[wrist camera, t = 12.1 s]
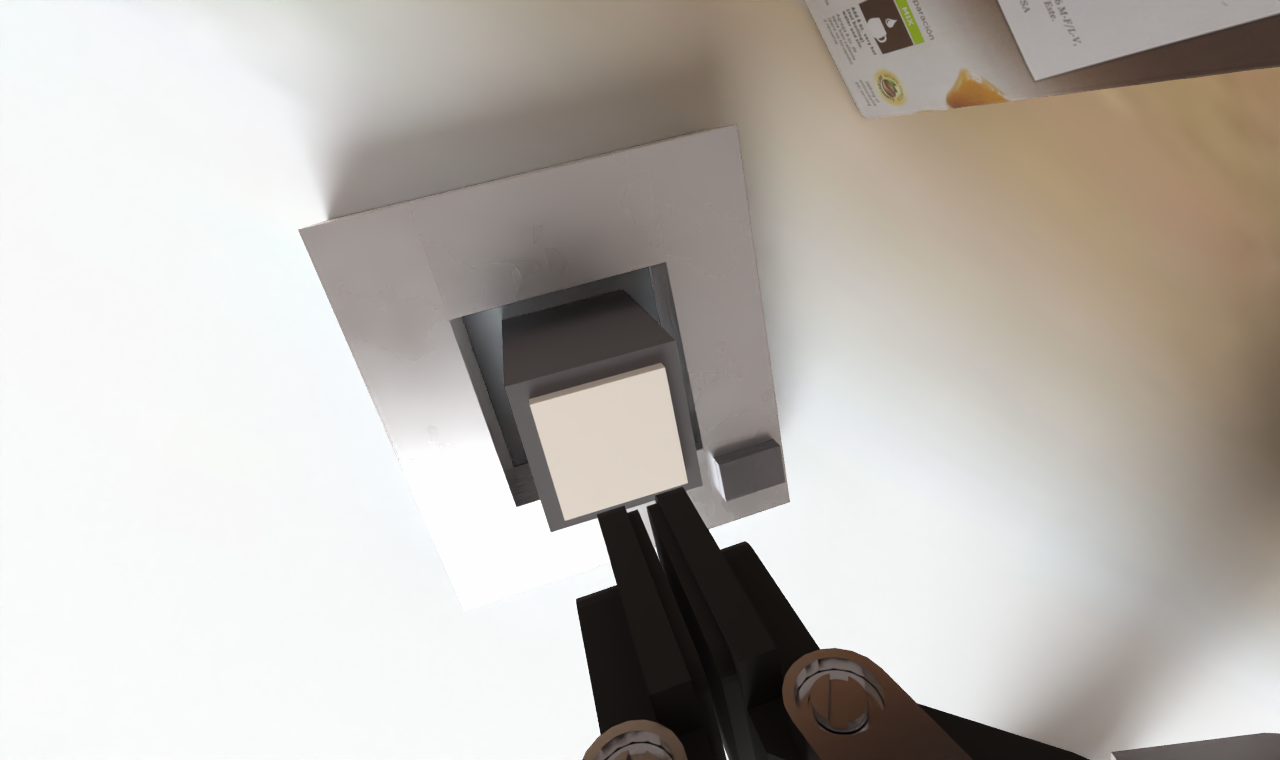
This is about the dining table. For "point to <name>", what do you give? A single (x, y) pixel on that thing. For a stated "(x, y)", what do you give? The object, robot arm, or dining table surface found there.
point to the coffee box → (1034, 47)
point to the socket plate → (536, 265)
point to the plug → (598, 407)
